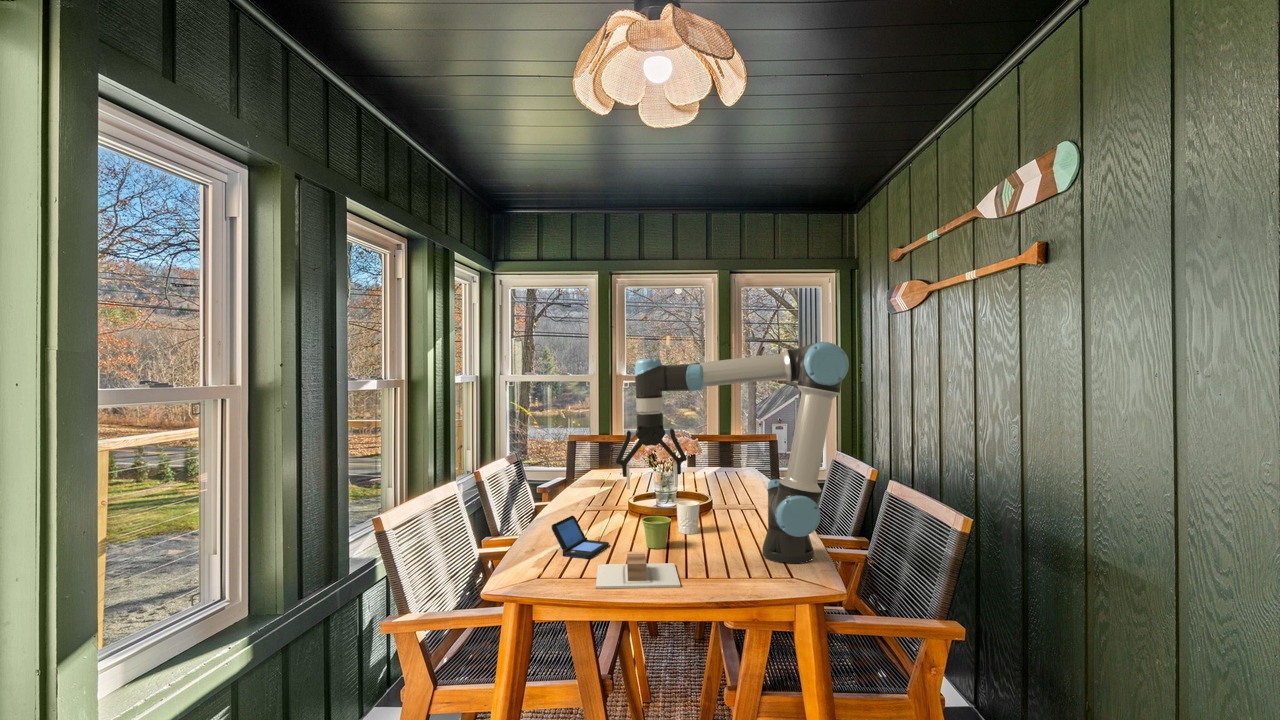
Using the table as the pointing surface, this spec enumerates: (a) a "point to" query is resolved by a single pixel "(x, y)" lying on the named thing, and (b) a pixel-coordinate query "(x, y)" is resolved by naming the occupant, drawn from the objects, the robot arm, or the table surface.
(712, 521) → the table surface
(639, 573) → the walnut block
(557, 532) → the handheld game console
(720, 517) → the table surface
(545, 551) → the table surface
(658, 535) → the plant pot
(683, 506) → the white cup
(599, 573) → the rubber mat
